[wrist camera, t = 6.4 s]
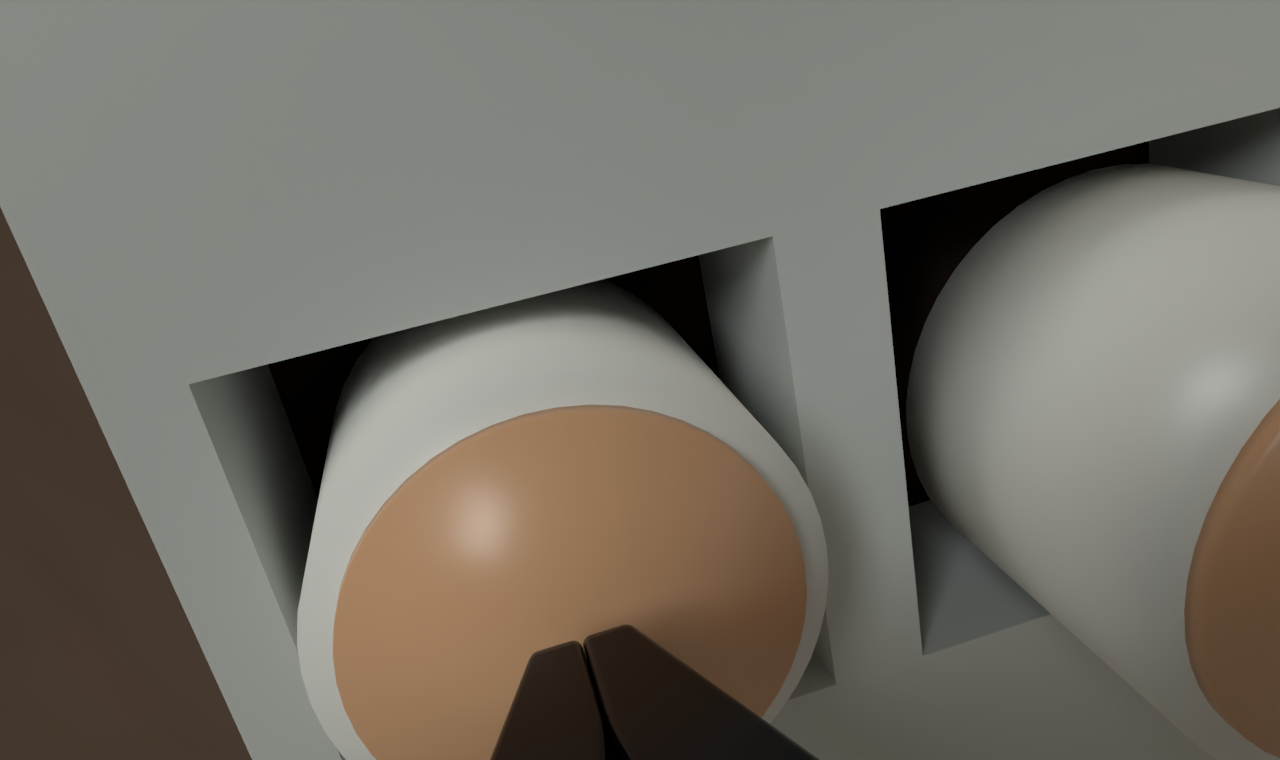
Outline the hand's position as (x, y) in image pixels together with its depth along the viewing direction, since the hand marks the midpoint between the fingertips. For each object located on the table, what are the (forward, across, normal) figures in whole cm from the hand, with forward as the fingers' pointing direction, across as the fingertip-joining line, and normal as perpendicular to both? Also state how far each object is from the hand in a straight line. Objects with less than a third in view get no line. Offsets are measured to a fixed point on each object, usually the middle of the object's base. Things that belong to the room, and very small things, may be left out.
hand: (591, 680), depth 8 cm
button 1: (+5, 0, 0) cm, 5 cm away
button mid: (+2, -6, 0) cm, 7 cm away
